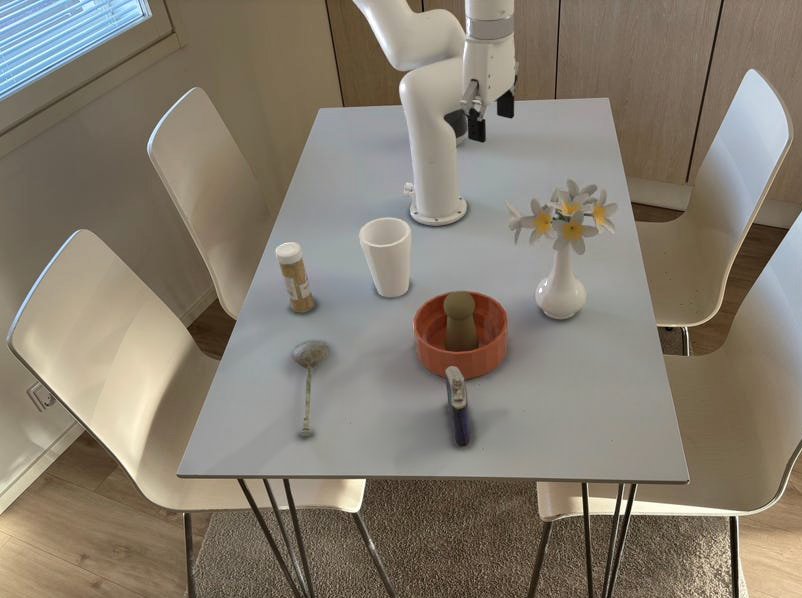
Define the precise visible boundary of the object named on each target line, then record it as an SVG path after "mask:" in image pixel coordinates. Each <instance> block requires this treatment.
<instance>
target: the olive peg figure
mask: <svg viewBox="0 0 802 598" xmlns="http://www.w3.org/2000/svg"><path fill="white" fill-rule="evenodd" d="M463 291H464V290H456V291H452V292H453V293H450V294H449V295H448V296H447V297H446V299H445V301H444V310H445V312H446V314H447V315H448V316H447V328H446V339H445V349H446V351H452V352H464V351H472V350H475V349H478V348H479V342H478V337H477V333H476V328H475V324H474V319H473V315H472V314H473V312H474V309H475V302H474V299H473V297H472V296H471V295H470V294H469V293H467V292H463Z"/></svg>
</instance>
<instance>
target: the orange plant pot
mask: <svg viewBox="0 0 802 598" xmlns="http://www.w3.org/2000/svg"><path fill="white" fill-rule="evenodd" d="M462 291H463V292H467V293H469V294H470V295H471V296H472V297H473V299H474V302H475V309H474V312H473V314H472V315H473V319H474V324H475V328H476V333H477V337H478V342H479V348H478V349H475V350H472V351H464V352H452V351H446V349H445V339H446V328H447V316H448V315H447V314H446V312H445V310H444V301H445V299H446V297H447V296H448V295H449V294H450V293H453V292H454V291H449V292H444V293H442V294H439V295H436V296H434V297H432V298H430V299H429V300H427V301H425V302H424V303H423V304H422V305H421V306H420V307H419V308H418V309H417V310H416V313H415V315H414V317H413V319H412V326H413V328H412V329H413V337H414V343H415V352H416V353H415V354H416V356H417V358H418V360H419V361H420V363H421V365H422V366H423V367H425V368H426V369H427V370H428V371H429V372H431V373H432V374H435V375H438V376H440V377H443V378H445V369H447V368H448V367H450V366H454V367H457V368H458V369H459V370H460V372H461V374H462V376H463V377H464V379H473V378H476V377H479V376H483V375H486V374H488V373H489V372H491V371H492V370H494V369H496V368H498V366H499V365H500V364H501V362H502V361H504V359H505V357H506V354H507V350H508V348H509V322H508V316H507V315H508V314H507V312H506V310H505V309H504V307H503V306H502V304H501V303H500V302H498V301H497V300H496V299H495V298H493V297H491V296H489V295H486V294H484V293H481V292H477V291H469V290H462Z"/></svg>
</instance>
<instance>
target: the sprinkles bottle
mask: <svg viewBox="0 0 802 598" xmlns="http://www.w3.org/2000/svg"><path fill="white" fill-rule="evenodd" d="M275 256H276V261H277V262H278V263H279V267H280V270H281V276H282V278H283V283H284V285H285V289H286V293H287V296H288V298H289V301H290V308H291V310H292V311H293V312H296V313H299V314H300V313H301V314H302V313H307V312H309V311H310V310H312V309H313V308H314V307H315V300H314V298H313V294H312V288H311V286H310V282H309V281H310V280H309V277H308V274H307V270H306V267H305V264H304V260H303V251H302V249H301V246H300V245H299V244H298V243H297V242H292V241H291V242H290V241H288V242H284V243H282V244H280V245H278V246H277V247H276V249H275Z"/></svg>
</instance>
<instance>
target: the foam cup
mask: <svg viewBox="0 0 802 598" xmlns="http://www.w3.org/2000/svg"><path fill="white" fill-rule="evenodd" d="M358 239H359V243H360V247H361V249H362V251H363V254H364V256H365V259H366V262H367V265H368V268H369V271H370V274H371V277H372V280H373V283H374V285H375V289H376V291H377V293H378V294H379V295H380V296H382V297H384V298H388V299H389V298H390V299H391V298H398V297H401V296H402V295H405V294H406V293H407V291H408V290H409V287H410V267H411V244H412V231H411V227H410V226H409V223H408V222H407V221H404V220H403V219H400V218H397V217H391V216H389V217H387V216H386V217H379V218H378V217H377V218H375V219H373V220H370V221H368V222H366V223H365V224H364V225H363V226H362V227H360V230H359V233H358Z"/></svg>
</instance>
